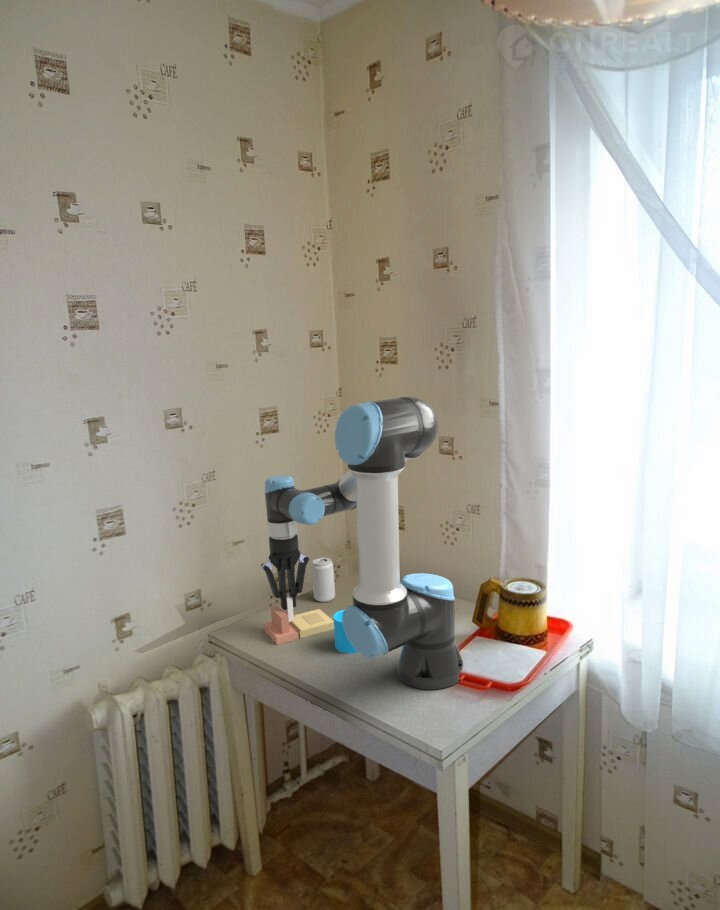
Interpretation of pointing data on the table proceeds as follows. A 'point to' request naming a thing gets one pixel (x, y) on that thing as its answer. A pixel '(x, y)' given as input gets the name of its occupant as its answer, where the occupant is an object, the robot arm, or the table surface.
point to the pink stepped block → (280, 627)
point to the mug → (341, 635)
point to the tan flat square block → (312, 623)
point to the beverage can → (323, 579)
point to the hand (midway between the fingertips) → (289, 619)
